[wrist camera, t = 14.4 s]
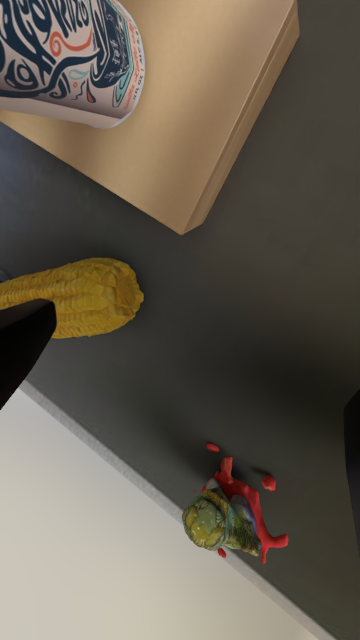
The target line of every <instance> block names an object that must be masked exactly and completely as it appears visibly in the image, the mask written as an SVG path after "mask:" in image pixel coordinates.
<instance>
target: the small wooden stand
mask: <svg viewBox="0 0 360 640" xmlns="http://www.w3.org/2000/svg"><path fill="white" fill-rule="evenodd" d="M116 1H118V2H119V3H120V4H121V5H122V6H123V7H124V8H125V9H126V11H127V12H128V13H129V14H130V15H131V17H132V19H133V20H134V22H135V24H136V26H137V29H138V31H139V34H140V36H141V41H142V45H143V50H144V59H145V73H144V83H143V88H142V91H141V94H140V97H139V100H138V103H137V104H136V106H135V108H134V109H133V111H132V113H131V114H130V115H129V116H128V117H127V118H126V119H125V120H124V121H123V122H122V123H120V124H118V125H117V126H114V127H111V128H105V129H102V128H96V127H93V126H90V125H88V124H83V123H78V122H72V121H66V120H60V119H54V118H49V117H43V116H37V115H31V114H25V113H19V112H14V111H8V110H2V109H0V121H1V122H2V123H4V124H5V125H7V126H9V127H10V128H12V129H13V130H15V131H17V132H18V133H20V134H21V135H23V136H24V137H26V138H28V139H29V140H31V141H32V142H34V143H36V144H37V145H39V146H40V147H42V148H44V149H45V150H47V151H48V152H50V153H51V154H53V155H55V156H56V157H58V158H59V159H61V160H63V161H64V162H66V163H67V164H69V165H71V166H72V167H74V168H75V169H77V170H78V171H80V172H82V173H83V174H85V175H86V176H88V177H90V178H91V179H93V180H94V181H96V182H97V183H99V184H101V185H102V186H104V187H105V188H107V189H109V190H110V191H112V192H113V193H115V194H117V195H118V196H120V197H121V198H123V199H124V200H126V201H128V202H129V203H131V204H132V205H134V206H136V207H137V208H139V209H140V210H142V211H144V212H145V213H147V214H148V215H150V216H151V217H153V218H155V219H156V220H158V221H159V222H161V223H163V224H164V225H166V226H167V227H169V228H171V229H172V230H174V231H175V232H177V233H178V234H180V235H183V234H185V233H187V232H188V231H190V230H192V229H194V228H195V227H197V226H199V225H201V224H203V222H204V221H205V219H206V217H207V215H208V213H209V211H210V209H211V207H212V205H213V203H214V201H215V199H216V197H217V195H218V193H219V191H220V189H221V187H222V185H223V183H224V182H225V180H226V178H227V176H228V174H229V172H230V170H231V168H232V166H233V164H234V162H235V160H236V158H237V156H238V154H239V152H240V150H241V148H242V146H243V145H244V143H245V141H246V139H247V137H248V135H249V133H250V131H251V129H252V127H253V125H254V123H255V121H256V119H257V117H258V115H259V113H260V111H261V109H262V107H263V106H264V104H265V102H266V100H267V98H268V96H269V94H270V92H271V90H272V88H273V86H274V84H275V82H276V80H277V78H278V76H279V74H280V72H281V70H282V69H283V67H284V65H285V63H286V61H287V59H288V57H289V55H290V53H291V51H292V49H293V47H294V45H295V43H296V41H297V39H298V37H299V35H300V34H299V22H298V10H297V0H116Z"/></svg>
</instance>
